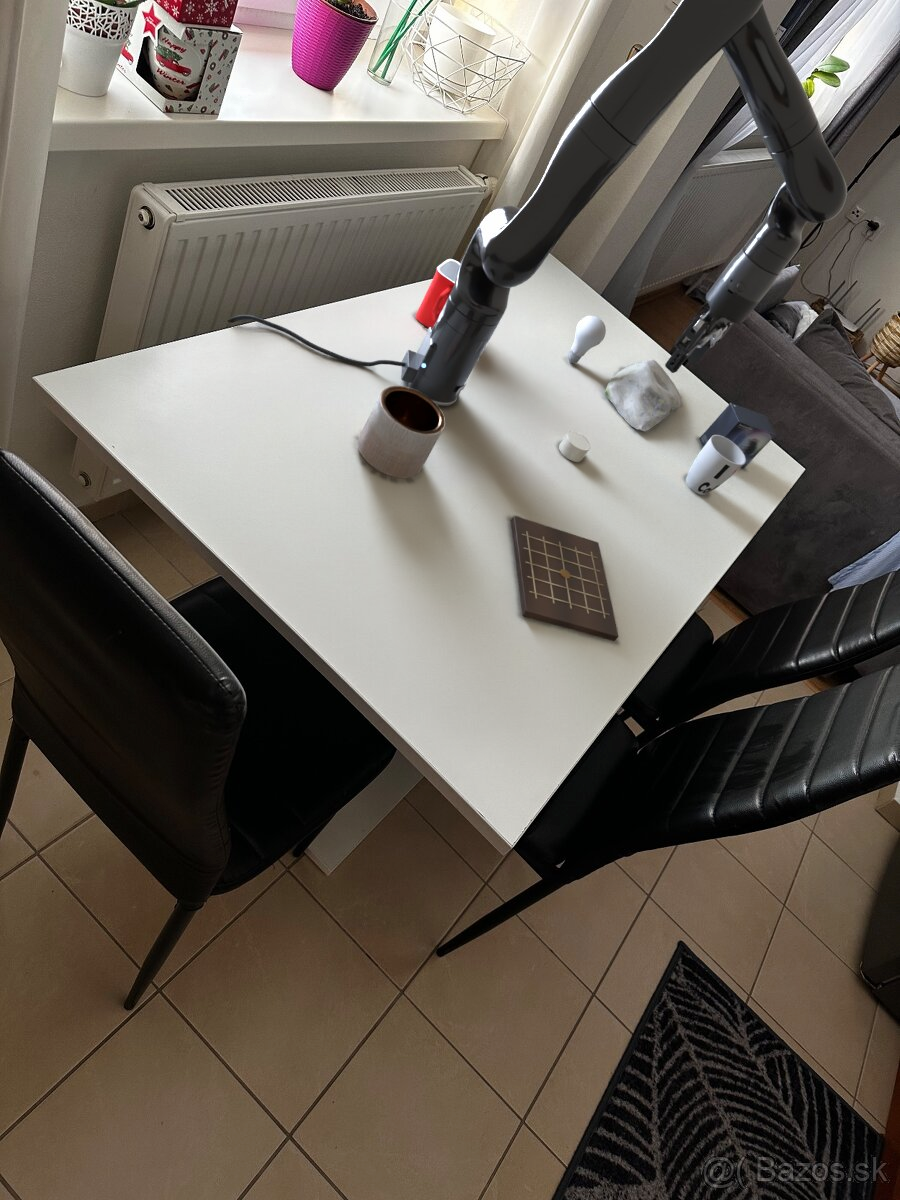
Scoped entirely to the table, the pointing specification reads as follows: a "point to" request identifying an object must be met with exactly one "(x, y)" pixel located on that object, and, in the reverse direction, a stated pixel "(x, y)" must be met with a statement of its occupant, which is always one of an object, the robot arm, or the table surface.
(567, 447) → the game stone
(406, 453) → the planter
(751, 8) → the robot arm
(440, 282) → the mug
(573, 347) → the lightbulb
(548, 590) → the board
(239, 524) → the table surface
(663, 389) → the stone
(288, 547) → the table surface
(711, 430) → the small box
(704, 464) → the cup
